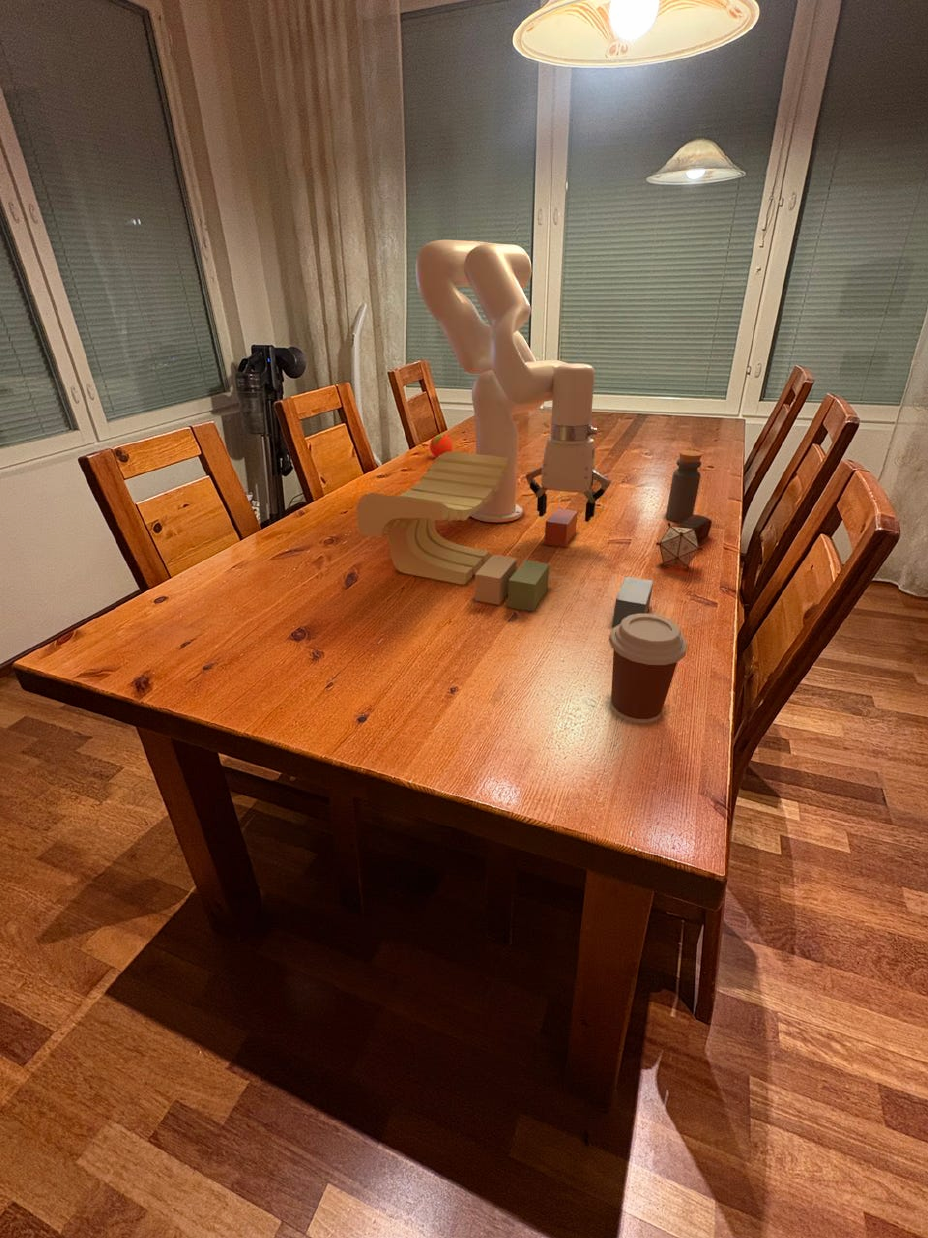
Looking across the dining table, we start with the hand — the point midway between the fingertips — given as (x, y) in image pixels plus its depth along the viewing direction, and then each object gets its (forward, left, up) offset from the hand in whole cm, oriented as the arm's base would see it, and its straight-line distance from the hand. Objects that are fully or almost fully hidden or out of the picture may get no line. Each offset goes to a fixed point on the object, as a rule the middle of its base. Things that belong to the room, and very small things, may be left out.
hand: (565, 517), depth 125 cm
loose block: (-1, 0, -5) cm, 5 cm away
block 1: (-5, -29, -5) cm, 29 cm away
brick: (+25, +9, -5) cm, 27 cm away
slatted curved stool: (-19, -22, -5) cm, 29 cm away
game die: (+23, -5, -5) cm, 24 cm away
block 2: (+1, -29, -5) cm, 29 cm away
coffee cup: (+23, -53, -5) cm, 58 cm away
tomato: (-52, +50, -5) cm, 72 cm away
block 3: (+19, -29, -5) cm, 35 cm away
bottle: (+21, +23, -5) cm, 32 cm away
